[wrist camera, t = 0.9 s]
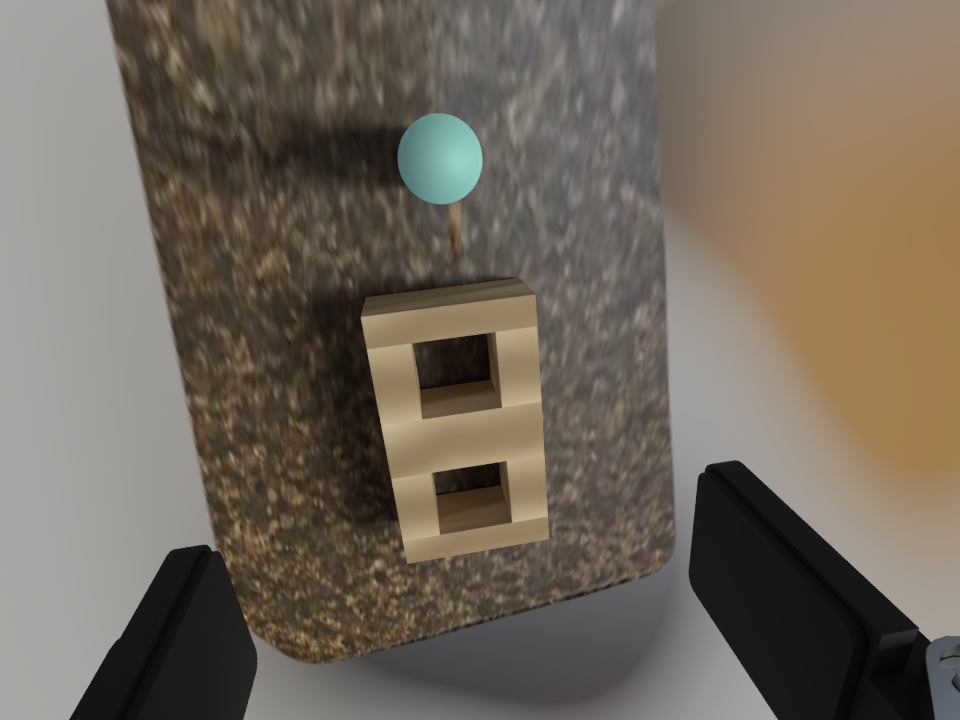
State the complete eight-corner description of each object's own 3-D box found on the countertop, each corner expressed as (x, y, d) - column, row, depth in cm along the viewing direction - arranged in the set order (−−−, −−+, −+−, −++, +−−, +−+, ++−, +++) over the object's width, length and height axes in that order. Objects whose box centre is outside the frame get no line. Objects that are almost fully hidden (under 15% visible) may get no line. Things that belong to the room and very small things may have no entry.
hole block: (365, 297, 30) (360, 317, 26) (519, 277, 31) (535, 294, 27) (406, 521, 36) (407, 563, 32) (534, 500, 37) (549, 539, 33)
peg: (395, 131, 27) (391, 117, 18) (452, 125, 27) (477, 109, 18) (403, 191, 28) (404, 208, 19) (458, 185, 28) (485, 199, 19)
